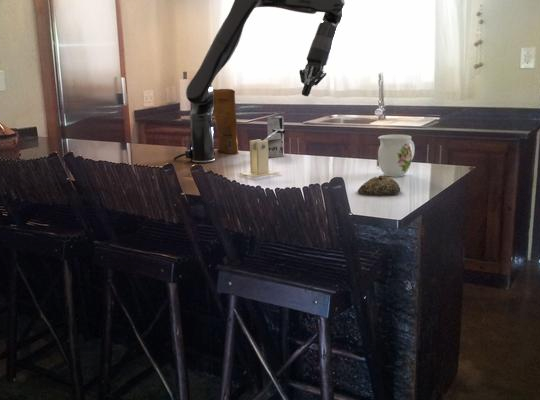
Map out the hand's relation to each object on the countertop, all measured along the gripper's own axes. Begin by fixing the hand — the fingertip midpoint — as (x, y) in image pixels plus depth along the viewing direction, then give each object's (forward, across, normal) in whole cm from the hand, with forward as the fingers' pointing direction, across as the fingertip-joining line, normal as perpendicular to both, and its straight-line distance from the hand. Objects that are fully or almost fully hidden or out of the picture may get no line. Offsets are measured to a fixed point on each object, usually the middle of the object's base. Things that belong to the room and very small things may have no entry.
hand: (304, 95), depth 234 cm
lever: (+21, 0, -9) cm, 22 cm away
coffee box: (+22, -29, +19) cm, 41 cm away
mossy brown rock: (+27, +46, +3) cm, 54 cm away
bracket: (+33, +1, -8) cm, 34 cm away
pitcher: (+18, +32, +24) cm, 44 cm away
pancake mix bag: (+26, -52, +10) cm, 59 cm away
